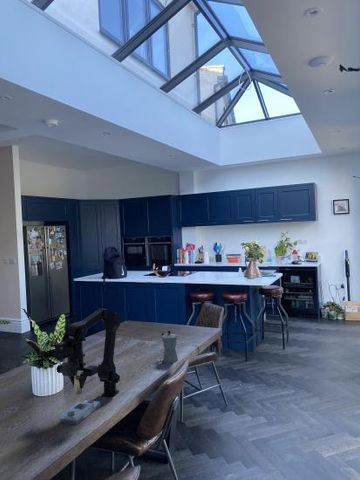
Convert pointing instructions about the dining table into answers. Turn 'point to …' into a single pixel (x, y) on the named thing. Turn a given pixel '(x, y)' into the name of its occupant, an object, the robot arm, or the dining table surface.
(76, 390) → the pin
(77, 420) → the slotted mounting bracket
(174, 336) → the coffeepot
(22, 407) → the dining table surface
